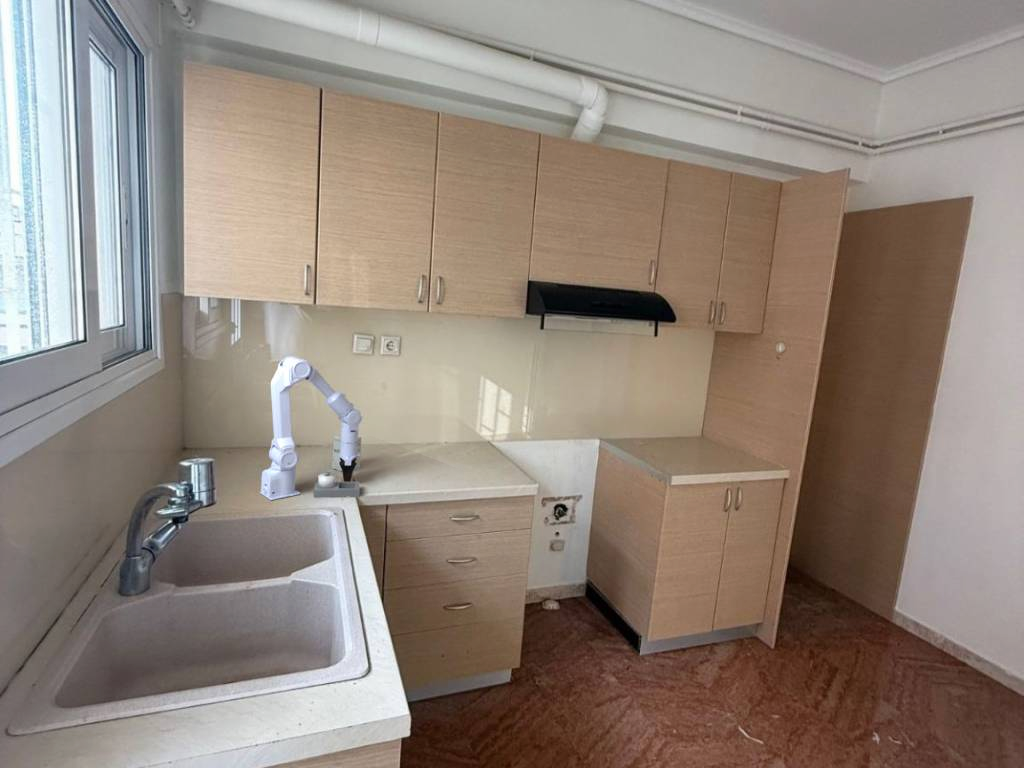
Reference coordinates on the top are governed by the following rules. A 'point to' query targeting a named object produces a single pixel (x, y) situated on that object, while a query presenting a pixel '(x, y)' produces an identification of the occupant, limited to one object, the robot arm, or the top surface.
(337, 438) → the supplement box
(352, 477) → the small orange jar
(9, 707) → the top surface
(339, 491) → the tray
